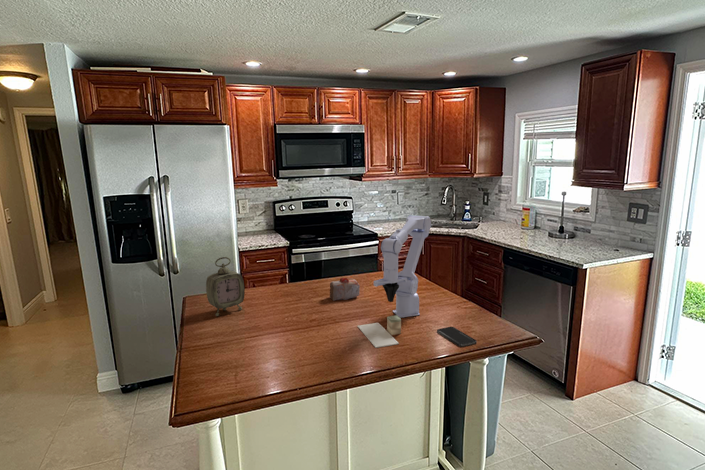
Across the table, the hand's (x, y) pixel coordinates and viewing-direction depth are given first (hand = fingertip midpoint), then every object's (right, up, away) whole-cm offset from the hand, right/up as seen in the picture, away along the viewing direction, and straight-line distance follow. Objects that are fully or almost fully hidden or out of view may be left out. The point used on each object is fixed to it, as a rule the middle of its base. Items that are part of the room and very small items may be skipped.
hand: (390, 301), depth 165 cm
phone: (+23, -12, -12) cm, 29 cm away
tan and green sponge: (+1, -11, -7) cm, 13 cm away
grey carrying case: (-19, -4, +34) cm, 39 cm away
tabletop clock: (-72, -8, +18) cm, 74 cm away
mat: (-6, -11, -9) cm, 16 cm away
